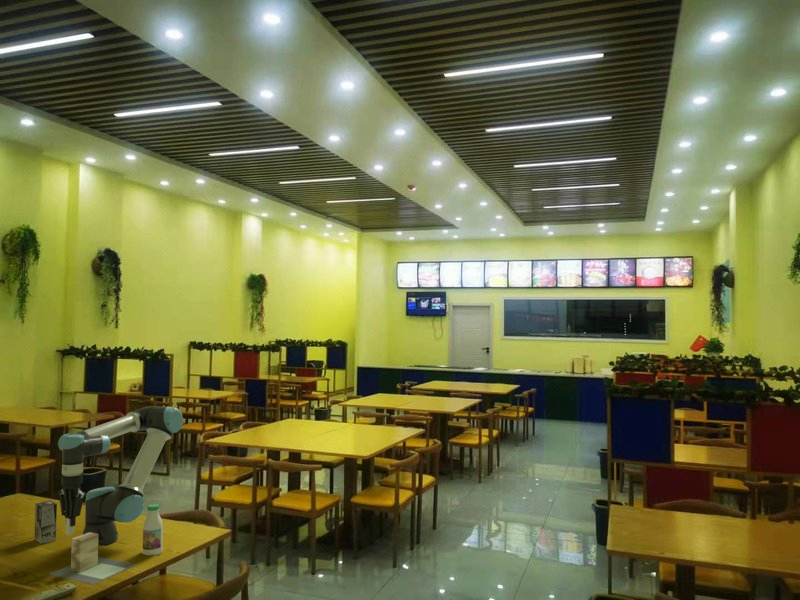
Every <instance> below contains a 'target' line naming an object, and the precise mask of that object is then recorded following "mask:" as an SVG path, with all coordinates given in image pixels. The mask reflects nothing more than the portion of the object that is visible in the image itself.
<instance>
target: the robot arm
mask: <svg viewBox="0 0 800 600" xmlns="http://www.w3.org/2000/svg"><path fill="white" fill-rule="evenodd" d="M183 425H184V417H183V413H182V411H181V410H180V409H179V408H177V407H172V406H158V405H150V406H145V407H142V408H138V409H136V410H133V411H130V412H128V413H127V414H126V415H125V416H122V417H119V418H116V419H113V420H110V421H107V422H104V423H102V424H98V425H96V426H94V427H90V428H87V429H85V430H81V431H78V432H76V433H65V434H63V435H61V436H60V437H59V439H58V441H57V446H58V448H59V451H62V452H61V453H62V454H61V455H62V456H61V457H62V459H61V460H62V461H61V481H60V484H61V485H62V488H61V490H58V491H57V494H58V497H59V503H60V504H59V506H60V512H61V516H64V518H65V535H66V536H70V535H74V534H75V530H76V529H75V527H76V523H77V522H76V519H77V517H79V516H81V513H82V507H83V503H85V504H84V505H85V508H84V509H85V510H84V511H85V512H84V518H85V519H84V528H83V530H82V534H81V535H83V534H86V533H89V532H91V533H96V534H98V546H102V547H103V545H104V546H107V545H108V546H109V545H111V544H113V543H115V542H117V541H118V540H119V532H118V530H117V526H116V523H115V522H117V523H118V522H119V523H125V524H126V523H132V522H133V521H136V520H137V519H138V518H139V517H140V516H141V515H142V512H143V511H144V509H145V504H144V503H145V500H144V498H143V497H144V495H145V493H144V492H143V490H144V488H145V485H146V483H147V481H148V478H149V477H150V475H151V473H152V471H153V468H154V466H155V464H156V462H157V460H158V458H159V456H160V454H161V452H162V450H163V447H164V445H165V443H166V442H167V441H168V440H171V439H172V436H173V435H174V434H175V433H178V432H179V431H180V430H181V429H182V427H183ZM139 431H146V433H147V435H146V437H145V439H144V442H143V444H142V445H141V448H140V450H139V452H138V454H137V456H136V457H135V459H134V461H133V464H132V466H131V468H130V470H129V472H128V474H127V475H126V478H125V480H124V482H123V483H122V484H119V485H118V486H117V488H115V486H103V487H98V488H94V489H91V490H89V491H87V493H86V492H84V491H82V487H81V484H83V481H84V480H83V479H84V478H83V477H84V475H83V472H84V458H86V457H90V456H91V457H92V456H95V455H102V454H104V453H106V452H108V451H109V450H110V448H111V439H114V438H116V437H119V436H121V435H124V434H127V433H129V432H130V433H131V432H132V433H136V432H139ZM84 498H85V501H84Z"/></svg>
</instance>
